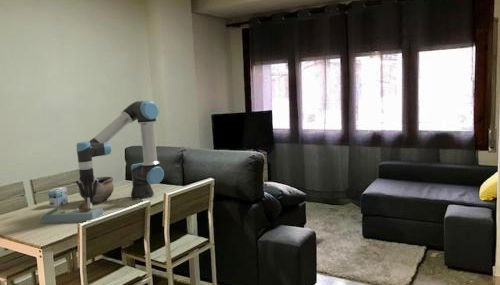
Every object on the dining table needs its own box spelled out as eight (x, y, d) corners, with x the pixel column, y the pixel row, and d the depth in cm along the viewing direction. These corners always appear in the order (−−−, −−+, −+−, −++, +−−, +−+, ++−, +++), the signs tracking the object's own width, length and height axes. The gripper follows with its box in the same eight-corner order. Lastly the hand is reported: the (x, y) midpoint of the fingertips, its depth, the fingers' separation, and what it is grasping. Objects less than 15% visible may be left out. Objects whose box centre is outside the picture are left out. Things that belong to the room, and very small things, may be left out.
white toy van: (58, 207, 270) (56, 190, 269) (49, 207, 272) (47, 191, 270) (68, 202, 281) (67, 187, 279) (59, 202, 282) (58, 187, 281)
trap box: (104, 212, 250) (103, 205, 249) (92, 221, 234) (91, 213, 234) (56, 214, 252) (56, 207, 251) (42, 223, 236) (41, 215, 235)
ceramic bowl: (81, 207, 265) (79, 184, 263) (78, 200, 284) (76, 179, 282) (117, 201, 275) (115, 179, 273) (112, 195, 294) (110, 174, 292)
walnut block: (91, 209, 248) (90, 201, 247) (87, 211, 243) (86, 203, 242) (83, 209, 248) (82, 201, 248) (79, 212, 243) (78, 203, 243)
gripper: (99, 166, 246) (103, 205, 249) (78, 167, 247) (82, 206, 249) (94, 169, 239) (98, 209, 241) (72, 170, 239) (76, 210, 242)
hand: (90, 207), depth 245 cm, fingers closed
